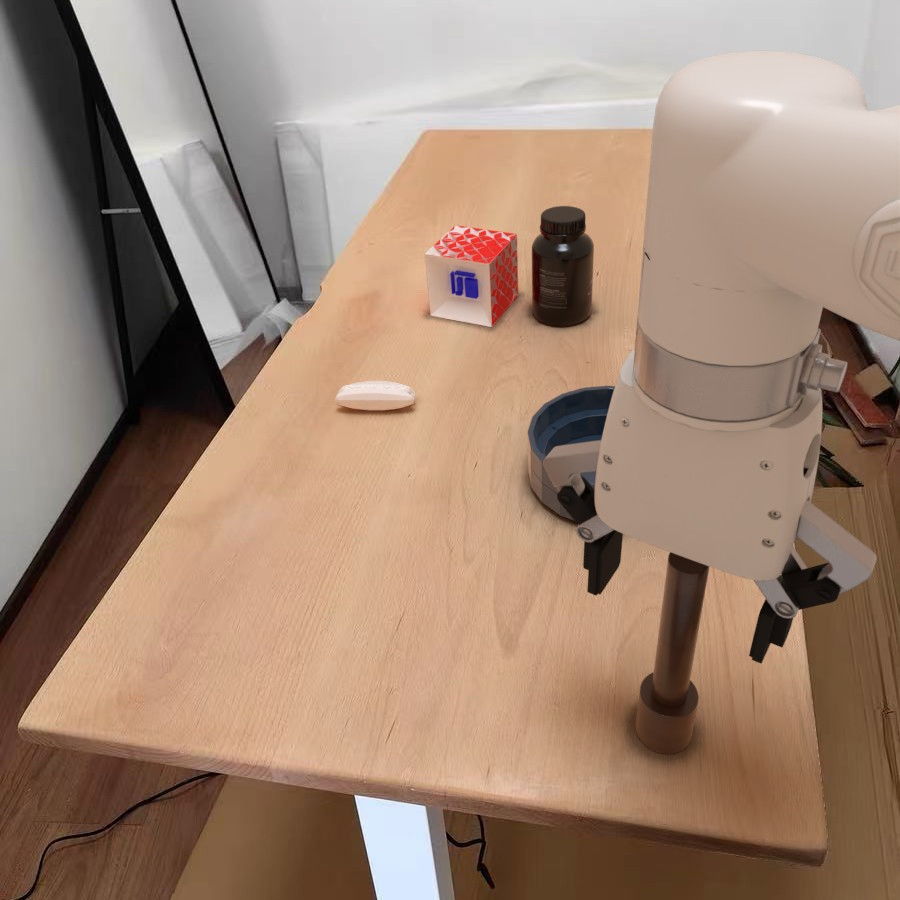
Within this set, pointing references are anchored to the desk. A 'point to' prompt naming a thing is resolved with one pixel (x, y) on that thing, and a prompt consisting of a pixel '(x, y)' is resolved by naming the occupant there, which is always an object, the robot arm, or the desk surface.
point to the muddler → (674, 661)
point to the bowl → (565, 435)
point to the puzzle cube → (472, 275)
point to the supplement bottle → (562, 267)
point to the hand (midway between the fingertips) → (680, 609)
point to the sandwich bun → (375, 395)
